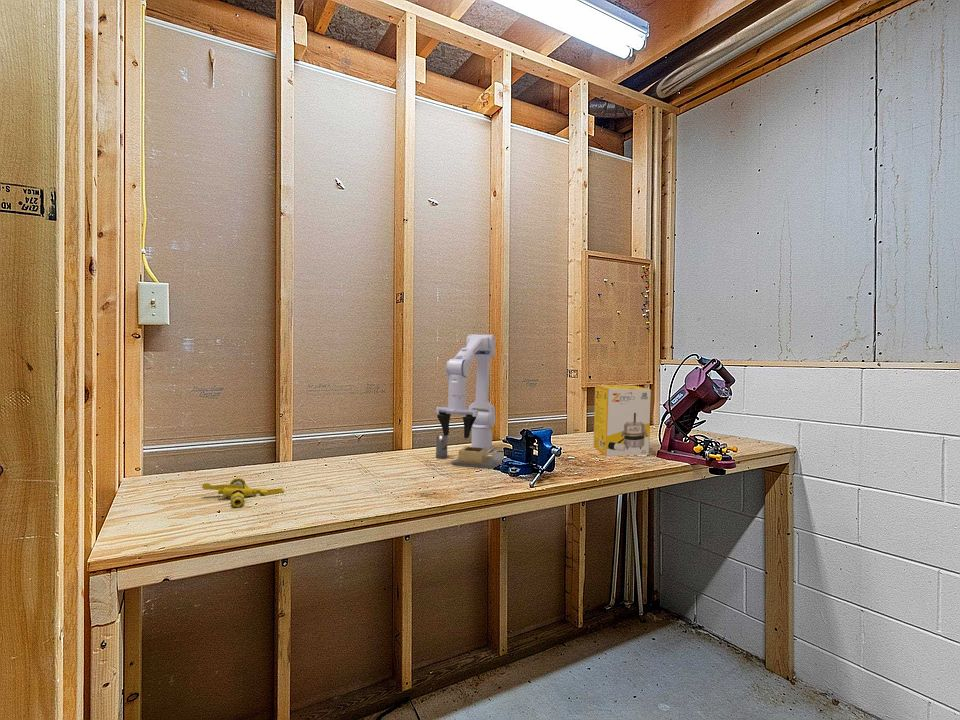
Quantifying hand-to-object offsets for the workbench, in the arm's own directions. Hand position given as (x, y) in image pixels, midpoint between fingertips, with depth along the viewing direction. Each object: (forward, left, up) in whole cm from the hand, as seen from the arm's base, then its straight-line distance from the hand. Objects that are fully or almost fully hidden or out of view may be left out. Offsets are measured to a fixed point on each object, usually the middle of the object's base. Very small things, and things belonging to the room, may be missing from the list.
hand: (456, 436), depth 165 cm
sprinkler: (+50, -41, -11) cm, 65 cm away
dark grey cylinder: (-10, -9, -10) cm, 17 cm away
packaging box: (-44, +52, -10) cm, 69 cm away
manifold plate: (-7, +7, -10) cm, 14 cm away
